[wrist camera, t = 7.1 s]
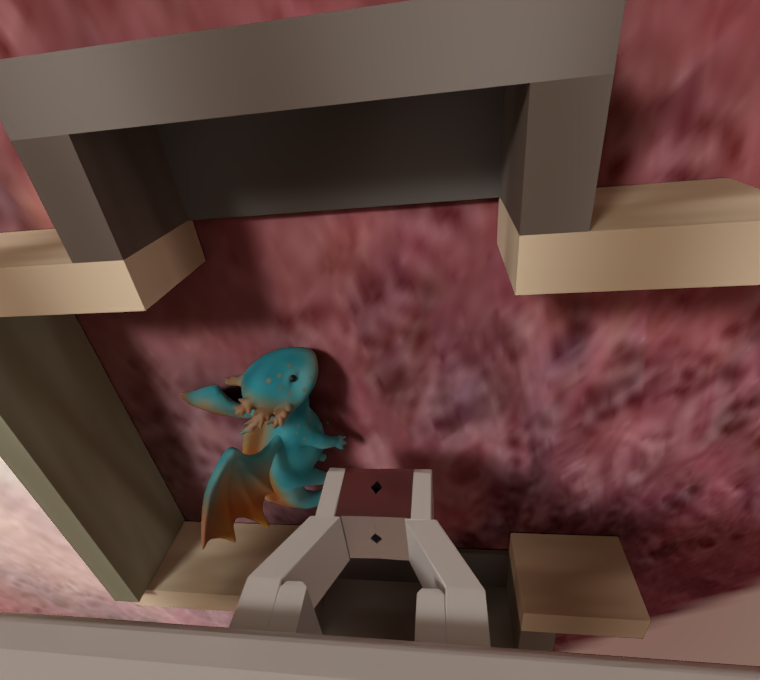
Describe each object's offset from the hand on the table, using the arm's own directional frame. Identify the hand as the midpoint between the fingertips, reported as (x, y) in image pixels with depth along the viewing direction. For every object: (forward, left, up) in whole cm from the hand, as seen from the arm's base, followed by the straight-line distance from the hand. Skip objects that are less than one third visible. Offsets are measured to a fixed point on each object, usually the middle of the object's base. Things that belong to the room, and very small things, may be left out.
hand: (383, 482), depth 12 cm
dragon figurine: (-1, +3, -3) cm, 5 cm away
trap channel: (0, +2, -3) cm, 3 cm away
